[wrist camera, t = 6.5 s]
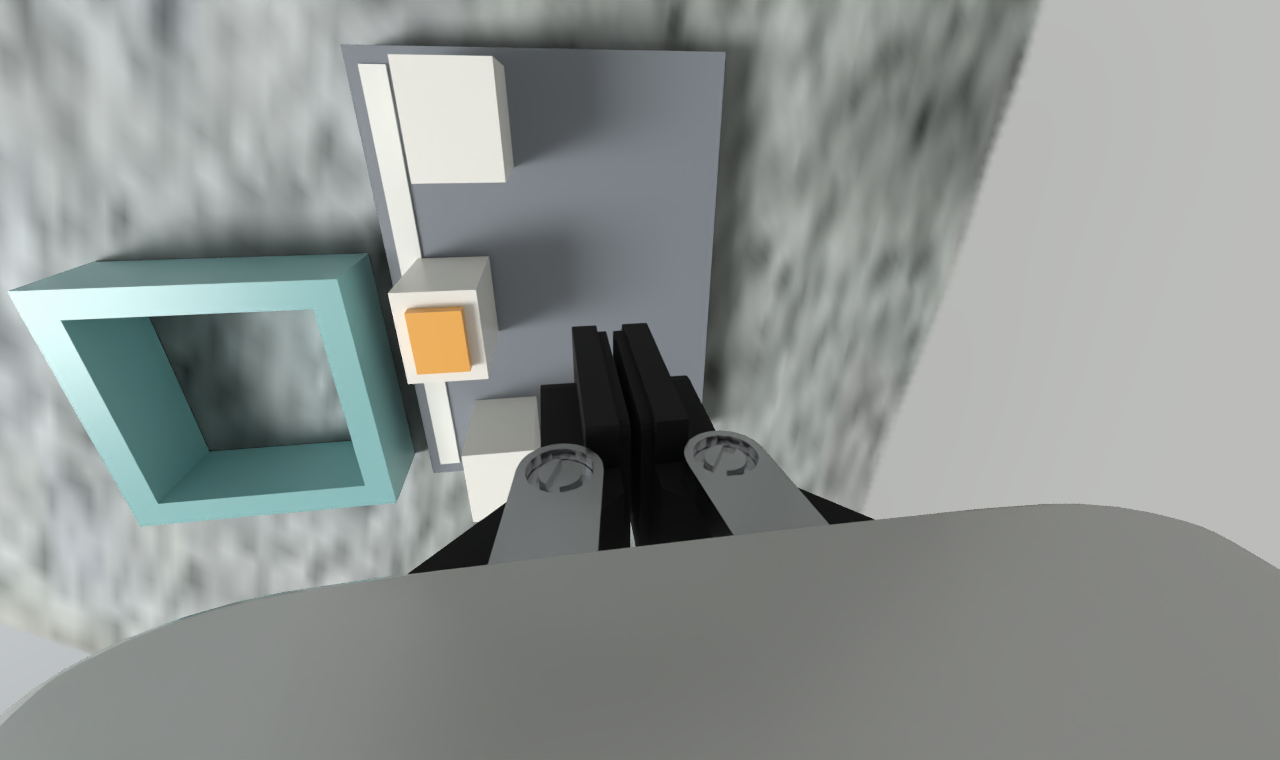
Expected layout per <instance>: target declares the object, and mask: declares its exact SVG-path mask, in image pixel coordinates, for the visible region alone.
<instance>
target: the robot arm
mask: <svg viewBox="0 0 1280 760" xmlns="http://www.w3.org/2000/svg"><path fill="white" fill-rule="evenodd" d="M572 348H573V367H574V383H562V384H547V385H540V414H541V448H538V449H537V450H535V451H533V452H531V453H529V454H528V455H527V456H525V457H524V458H523V459H522V460H521V461H520V463H519V465H518V467H517V468H516V471H515V475H514V478H513V481H512V485H511V488H510V491H509V495H508V498H507V502H506V503H504V504H503V505H502V506H500V507H499V508H497V509H496V510H495V511H493V512H492V513H491V514H489V515H488V516H486V517H485V518H484V519H482V520H481V521H480V522H478V523H477V524H475V525H474V526H473V527H471V528H470V529H469V530H467V531H466V532H464V533H463V534H462V535H460V536H459V537H458V538H456V539H455V540H453V541H452V542H451V543H449V544H448V545H447V546H445V547H444V548H443V549H441V550H440V551H438V552H437V553H436V554H434V555H433V556H432V557H430V558H429V559H427V560H426V561H425V562H423V563H422V564H421V565H419V566H418V567H416V568H415V569H414V570H412V571H411V572H410V573H408V574H407V575H399V576H391V577H382V578H375V579H368V580H362V581H355V582H348V583H341V584H335V585H328V586H321V587H314V588H308V589H301V590H294V591H287V592H282V593H277V594H273V595H268V596H263V597H259V598H254V599H249V600H244V601H240V602H235V603H232V604H228V605H225V606H221V607H218V608H214V609H211V610H207V611H204V612H201V613H197V614H194V615H190V616H187V617H183V618H180V619H178V620H175V621H172V622H170V623H167V624H165V625H162V626H159V627H157V628H154V629H151V630H149V631H146V632H144V633H141V634H138V635H136V636H133V637H130V638H128V639H125V640H123V641H121V642H119V643H116V644H114V645H112V646H110V647H108V648H105V649H103V650H101V651H99V652H97V653H95V654H93V655H91V656H89V657H87V658H85V659H83V660H81V661H79V662H77V663H76V664H73V665H71V666H70V667H68V668H66V669H64V670H62V671H61V672H59V673H58V674H56V675H54V676H53V677H51V678H50V679H48V680H47V681H45V682H43V683H42V684H40V685H39V686H37V687H35V688H34V689H33V690H31V691H30V692H29V693H27V694H26V695H25V696H24V697H22V698H21V699H20V700H18V701H17V702H16V703H15V704H13V705H12V706H11V707H9V708H8V709H7V710H6V711H4V712H3V713H2V714H1V715H0V760H1280V569H1278V568H1276V567H1275V566H1273V565H1271V564H1270V563H1268V562H1266V561H1264V560H1263V559H1261V558H1259V557H1258V556H1256V555H1254V554H1253V553H1251V552H1249V551H1247V550H1246V549H1244V548H1242V547H1240V546H1239V545H1237V544H1236V543H1234V542H1232V541H1230V540H1228V539H1226V538H1225V537H1223V536H1221V535H1219V534H1217V533H1215V532H1213V531H1210V530H1208V529H1206V528H1204V527H1201V526H1198V525H1195V524H1192V523H1188V522H1185V521H1182V520H1178V519H1174V518H1170V517H1166V516H1162V515H1158V514H1154V513H1149V512H1143V511H1138V510H1132V509H1126V508H1120V507H1111V506H1098V505H1086V504H1039V505H1025V506H1013V507H999V508H985V509H974V510H964V511H956V512H945V513H937V514H927V515H918V516H909V517H899V518H890V519H880V520H874V519H872V518H870V517H867V516H865V515H862V514H860V513H858V512H855V511H853V510H850V509H848V508H845V507H843V506H841V505H838V504H836V503H833V502H831V501H829V500H826V499H824V498H821V497H819V496H817V495H814V494H812V493H809V492H807V491H805V490H802V489H800V488H797V486H796V485H795V484H794V483H793V482H792V481H791V480H790V478H789V477H788V476H787V475H786V474H785V473H784V471H783V470H782V469H781V468H780V467H779V466H778V465H777V463H776V462H775V461H774V460H773V459H772V458H771V456H770V455H769V454H768V453H767V452H766V451H765V450H764V448H763V447H762V446H760V445H759V444H758V443H757V442H756V441H755V440H753V439H751V438H749V437H747V436H745V435H742V434H738V433H735V432H730V431H715V429H714V427H713V425H712V423H711V421H710V419H709V417H708V415H707V413H706V411H705V409H704V407H703V405H702V403H701V401H700V399H699V397H698V395H697V393H696V391H695V389H694V387H693V385H692V383H691V381H690V379H689V378H688V376H686V375H682V376H670V374H669V372H668V369H667V367H666V365H665V363H664V360H663V358H662V356H661V354H660V351H659V349H658V347H657V345H656V342H655V340H654V338H653V336H652V333H651V331H650V329H649V327H648V324H647V323H633V324H622V328H621V330H620V331H613V355H612V351H611V348H610V344H609V340H608V336H607V332H606V331H601V332H598V331H597V327H596V325H593V326H573V327H572ZM630 521H631V526H632V530H633V535H634V540H635V545H636V547H630Z"/></svg>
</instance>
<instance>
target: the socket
mask: <svg viewBox="0 0 1280 760" xmlns="http://www.w3.org/2000/svg"><path fill="white" fill-rule="evenodd" d="M7 292H8V294H9V295H10V297H11V299H12V301H13V302H14V304H15V306H16V308H17V310H18V311H19V313H20V315H21V317H22V318H23V320H24V322H25V324H26V325H27V327H28V329H29V331H30V333H31V334H32V336H33V338H34V340H35V341H36V343H37V345H38V347H39V348H40V350H41V352H42V354H43V355H44V357H45V359H46V361H47V363H48V364H49V366H50V368H51V370H52V371H53V373H54V375H55V377H56V378H57V380H58V382H59V384H60V386H61V387H62V389H63V391H64V393H65V394H66V396H67V398H68V400H69V401H70V403H71V405H72V407H73V408H74V410H75V412H76V414H77V416H78V417H79V419H80V421H81V423H82V424H83V426H84V428H85V430H86V431H87V433H88V435H89V437H90V439H91V440H92V442H93V444H94V446H95V447H96V449H97V451H98V453H99V454H100V456H101V458H102V460H103V461H104V463H105V465H106V467H107V469H108V470H109V472H110V474H111V476H112V477H113V479H114V481H115V483H116V484H117V486H118V488H119V490H120V492H121V493H122V495H123V497H124V499H125V500H126V502H127V504H128V506H129V507H130V509H131V511H132V513H133V514H134V516H135V518H136V520H137V522H138V523H139V525H140V526H150V525H161V524H172V523H183V522H194V521H204V520H215V519H226V518H237V517H248V516H258V515H269V514H280V513H291V512H302V511H312V510H323V509H334V508H345V507H356V506H366V505H377V504H388V503H396V502H397V500H398V497H399V495H400V492H401V489H402V487H403V484H404V481H405V479H406V476H407V474H408V471H409V468H410V466H411V463H412V461H413V458H414V455H415V452H414V447H413V443H412V439H411V434H410V430H409V426H408V421H407V417H406V413H405V408H404V404H403V400H402V396H401V391H400V387H399V383H398V378H397V374H396V370H395V365H394V361H393V357H392V353H391V348H390V344H389V340H388V335H387V331H386V327H385V322H384V318H383V314H382V309H381V305H380V301H379V297H378V292H377V288H376V284H375V279H374V275H373V271H372V266H371V262H370V258H369V253H358V254H326V255H294V256H262V257H230V258H198V259H166V260H135V261H103V262H91V263H88V264H85V265H82V266H80V267H77V268H74V269H71V270H68V271H65V272H62V273H59V274H56V275H53V276H51V277H48V278H45V279H42V280H39V281H36V282H33V283H30V284H27V285H25V286H22V287H19V288H16V289H13V290H10V291H7ZM306 309H313V311H314V314H315V317H316V321H317V324H318V328H319V331H320V334H321V338H322V341H323V345H324V348H325V351H326V355H327V358H328V362H329V365H330V368H331V372H332V375H333V378H334V382H335V385H336V389H337V392H338V395H339V399H340V402H341V406H342V409H343V412H344V416H345V419H346V423H347V426H348V429H349V433H350V436H351V440H352V441H341V442H327V443H314V444H301V445H288V446H275V447H262V448H249V449H236V450H223V451H210V452H209V450H208V447H207V445H206V443H205V441H204V438H203V436H202V434H201V432H200V430H199V427H198V425H197V423H196V421H195V418H194V416H193V414H192V412H191V409H190V407H189V405H188V403H187V401H186V398H185V396H184V394H183V392H182V389H181V387H180V385H179V383H178V380H177V378H176V376H175V374H174V372H173V369H172V367H171V365H170V363H169V360H168V358H167V356H166V354H165V351H164V349H163V347H162V345H161V343H160V340H159V338H158V336H157V334H156V331H155V329H154V327H153V325H152V322H151V320H150V318H149V316H171V315H193V314H216V313H238V312H261V311H284V310H306Z"/></svg>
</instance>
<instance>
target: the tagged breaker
mask: <svg viewBox="0 0 1280 760" xmlns="http://www.w3.org/2000/svg"><path fill="white" fill-rule="evenodd" d="M388 297H389V301H390V306H391V310H392V315H393V319H394V323H395V328H396V332H397V337H398V341H399V346H400V350H401V355H402V359H403V364H404V368H405V373H406V377H407V382H408V384H417V383H432V382H448V381H464V380H479V379H489V375H490V370H491V366H492V361H493V357H494V352H495V348H496V343H497V338H498V334H499V330H498V322H497V314H496V307H495V299H494V291H493V283H492V275H491V267H490V259H489V256H478V257H448V258H417V260H416V261H415V262H414V263H413V264H412V266H411V267H410V268H409V269H408V270H407V271H406V273H405V274H404V275H403V276H402V277H401V278H400V280H399V281H398V282H397V283H396V284H395V285H394V287H393V288H392V289H391V290H390V291H389V293H388Z"/></svg>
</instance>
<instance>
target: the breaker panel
mask: <svg viewBox="0 0 1280 760" xmlns="http://www.w3.org/2000/svg"><path fill="white" fill-rule="evenodd" d="M341 49H342V53H343V58H344V62H345V67H346V72H347V76H348V81H349V86H350V90H351V95H352V99H353V104H354V109H355V113H356V118H357V122H358V127H359V132H360V136H361V141H362V145H363V150H364V155H365V159H366V164H367V168H368V173H369V178H370V182H371V187H372V191H373V196H374V201H375V205H376V210H377V215H378V219H379V224H380V228H381V233H382V238H383V242H384V247H385V251H386V256H387V261H388V265H389V270H390V274H391V279H392V284H393V287H394V285H395V284H396V283H397V282H398V281H399V280H400V278H401V277H402V276H403V275H404V274H405V273H406V271H407V270H408V269H409V268H410V267H411V266H412V264H413V263H414V262H415V261H416V260H417V258H448V257H478V256H489V259H490V267H491V275H492V283H493V291H494V299H495V307H496V314H497V322H498V330H499V334H498V338H497V343H496V348H495V352H494V357H493V361H492V366H491V370H490V375H489V379H479V380H464V381H448V382H432V383H417V384H414V385H415V390H416V394H417V399H418V403H419V408H420V413H421V417H422V422H423V426H424V431H425V436H426V440H427V445H428V449H429V454H430V459H431V463H432V468H433V472H434V473H440V472H452V471H463V470H464V473H465V479H466V484H467V490H468V495H469V501H470V506H471V511H472V517H473V522H478V521H481V520H482V519H484V518H485V517H486V516H488V515H489V514H491V513H492V512H493V511H495V510H496V509H497V508H499V507H500V506H502V505H503V504H504V503H506V502H507V498H508V495H509V491H510V488H511V485H512V481H513V478H514V475H515V471H516V468H517V467H518V465H519V463H520V461H521V460H522V459H523V458H524V457H525V456H527V455H528V454H529V453H531V452H533V451H535V450H537V449H538V448H541V414H540V385H547V384H562V383H574V367H573V348H572V327H573V326H593V325H596V327H597V331H598V332H601V331H606V332H607V336H608V340H609V344H610V348H611V351H612V355H613V331H620V330H621V328H622V324H633V323H647V324H648V327H649V329H650V331H651V333H652V336H653V338H654V340H655V342H656V345H657V347H658V349H659V351H660V354H661V356H662V358H663V360H664V363H665V365H666V367H667V369H668V372H669V374H670V376H682V375H686V376H688V378H689V379H690V381H691V383H692V385H693V387H694V389H695V391H696V393H697V395H698V397H699V399H700V401H701V403H702V397H703V382H704V367H705V353H706V338H707V323H708V308H709V293H710V279H711V264H712V249H713V234H714V219H715V204H716V190H717V175H718V160H719V145H720V130H721V115H722V101H723V86H724V71H725V56H726V52H707V51H655V50H603V49H551V48H499V47H448V46H396V45H344V44H341Z"/></svg>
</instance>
